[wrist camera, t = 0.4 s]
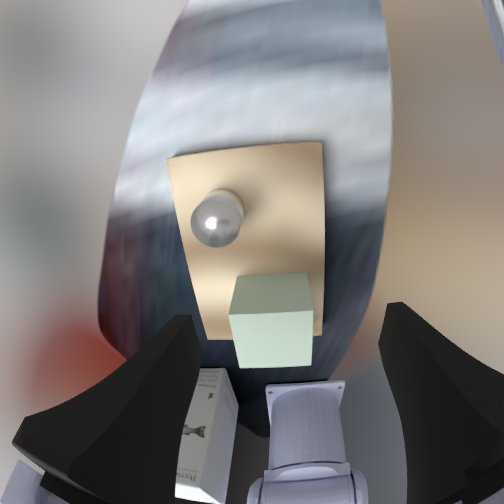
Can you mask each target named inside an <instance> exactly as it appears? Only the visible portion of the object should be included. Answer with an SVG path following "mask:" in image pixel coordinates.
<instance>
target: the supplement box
mask: <svg viewBox="0 0 504 504" xmlns="http://www.w3.org/2000/svg"><path fill="white" fill-rule="evenodd" d="M237 414H238V403H237V400H236V397H235V394H234V391H233V388H232V385H231V382H230V379H229V377H228V374H227V371H226V369H225V368H200V372H199V377H198V381H197V384H196V387H195V391H194V394H193V397H192V401H191V404H190V407H189V410H188V414H187V417H186V420H185V424H184V428H183V432H182V438H181V444H180V450H179V458H178V466H177V475H176V487H175V497H179V498H184V499H189V500H194V501H200V502H207V503H215V504H225V500H226V493H227V485H228V479H229V471H230V464H231V457H232V449H233V443H234V435H235V428H236V421H237Z"/></svg>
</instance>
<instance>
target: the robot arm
mask: <svg viewBox="0 0 504 504" xmlns="http://www.w3.org/2000/svg"><path fill="white" fill-rule="evenodd" d="M378 345H379V349H380V354H381V359H382V363H383V367H384V370H385V373H386V376H387V378H388V381H389V384H390V387H391V390H392V393H393V396H394V399H395V402H396V405H397V408H398V411H399V415H400V419H401V423H402V429H403V435H404V441H405V450H406V460H407V482H408V483H407V504H504V374H502V373H500V372H498V371H496V370H494V369H492V368H490V367H488V366H487V365H485V364H483V363H482V362H480V361H478V360H477V359H475V358H474V357H472V356H471V355H469V354H468V353H466V352H465V351H463V350H462V349H461V348H459V347H458V346H456V345H455V344H454V343H452V342H451V341H450V340H449V339H447V338H446V337H445V336H443V335H442V334H441V333H440V332H438V331H437V330H436V329H435V328H434V327H432V326H431V325H430V324H429V323H428V322H426V321H425V320H424V319H423V318H422V317H420V316H419V315H418V314H417V313H416V312H414V311H413V310H412V309H411V308H410V307H408V306H407V305H406V304H404V303H403V302H395V303H389V304H387V308H386V313H385V318H384V322H383V326H382V331H381V335H380V339H379V343H378ZM201 359H202V350H201V347H200V344H199V341H198V337H197V334H196V331H195V327H194V324H193V320H192V317H191V315H175V316H174V317H173V318H171V319H170V320H169V321H168V322H167V323H166V324H165V325H164V326H163V327H162V328H161V329H160V330H159V331H158V332H157V333H156V334H155V335H154V336H153V337H152V338H151V339H150V340H149V341H148V342H147V343H146V344H145V345H144V346H143V347H142V348H141V349H140V350H138V351H137V352H136V353H135V354H134V355H133V356H132V357H131V358H129V359H128V360H127V361H126V362H125V363H124V364H123V365H121V366H120V367H119V368H118V369H116V370H115V371H114V372H113V373H111V374H110V375H109V376H107V377H106V378H104V379H103V380H102V381H100V382H99V383H97V384H96V385H94V386H92V387H91V388H89V389H88V390H86V391H84V392H83V393H81V394H79V395H78V396H76V397H74V398H72V399H70V400H68V401H66V402H64V403H62V404H60V405H57V406H55V407H53V408H50V409H48V410H45V411H42V412H39V413H36V414H33V415H31V416H27V417H25V418H24V420H23V422H22V424H21V426H20V427H19V429H18V431H17V433H16V435H15V437H14V439H13V441H12V444H13V446H14V447H15V448H17V449H18V450H19V451H20V452H21V453H22V454H24V455H25V456H26V457H27V458H29V459H30V460H31V461H33V462H34V463H35V464H37V465H38V466H39V467H41V468H42V469H43V470H45V473H44V475H41V474H40V473H39V472H37V471H36V470H34V469H32V468H31V467H30V466H28V465H27V464H25V463H24V462H22V461H21V460H18V461H17V463H16V465H15V467H14V470H13V472H12V474H11V476H10V479H9V481H8V483H7V486H6V488H5V491H4V493H3V496H2V498H1V501H0V502H1V504H175V487H176V475H177V466H178V458H179V450H180V444H181V438H182V432H183V428H184V424H185V420H186V417H187V414H188V410H189V407H190V404H191V401H192V397H193V394H194V391H195V387H196V384H197V381H198V377H199V372H200V366H201ZM344 388H345V380H343V379H339V380H330V381H319V382H307V383H291V384H269V385H267V386H266V388H265V390H266V398H267V405H268V412H269V419H270V426H271V430H270V452H269V470H265V472H264V478H259V479H257V480H256V482H254V483H253V484H252V485H251V487H250V490H249V493H248V499H247V504H368V492H367V485H366V481H365V478H364V475H363V474H362V473H360V472H359V471H358V470H356V469H355V470H350V463H346V458H345V449H344V442H343V433H342V427H341V419H340V412H339V408H340V404H341V400H342V396H343V391H344Z"/></svg>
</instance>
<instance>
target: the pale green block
mask: <svg viewBox="0 0 504 504" xmlns="http://www.w3.org/2000/svg"><path fill="white" fill-rule="evenodd" d="M228 316H229V321H230V325H231V330H232V335H233V340H234V344H235V349H236V353H237V358H238V363H239V367H240V368H270V367H292V366H308V365H311V357H312V336H313V306H312V300H311V294H310V289H309V283H308V278H307V273H306V272H305V273H289V274H273V275H256V276H238V277H237V278H236V282H235V287H234V291H233V296H232V300H231V305H230V309H229V314H228Z"/></svg>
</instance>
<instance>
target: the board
mask: <svg viewBox="0 0 504 504" xmlns="http://www.w3.org/2000/svg"><path fill="white" fill-rule="evenodd" d="M166 160H167V166H168V172H169V178H170V183H171V188H172V194H173V199H174V204H175V209H176V214H177V219H178V223H179V228H180V233H181V237H182V242H183V246H184V250H185V255H186V259H187V263H188V267H189V272H190V276H191V280H192V284H193V288H194V291H195V295H196V299H197V303H198V307H199V310H200V314H201V318H202V321H203V325H204V328H205V332H206V335H207V339H217V340H222V339H233V335H232V330H231V325H230V321H229V316H228V314H229V309H230V305H231V300H232V296H233V291H234V287H235V282H236V278H237V277H238V276H256V275H273V274H289V273H305V272H306V273H307V278H308V283H309V289H310V294H311V300H312V306H313V336H318V335H322V320H323V300H324V268H325V208H324V177H323V157H322V143H321V142H319V141H310V142H290V143H276V144H263V145H253V146H243V147H234V148H226V149H218V150H211V151H204V152H197V153H191V154H185V155H179V156H173V157H171V158H168V159H166ZM218 188H227V189H230V190H233V191H235V192H236V193H237V194H238V195H239V196H240V197H241V198H242V200H243V202H244V206H245V214H244V217H243V221H242V224H241V227H240V231H239V234H238V236H237V238H236V239H235V240H234V241H233V242H232V243H231V244H229V245H227V246H225V247H220V248H214V247H209V246H206V245H204V244H203V243H201V242H200V241H199V240H198V239H197V238H196V237H195V236H194V234H193V232H192V229H191V224H190V220H191V216H192V213H193V211H194V210H195V208H196V207H197V206H198V205H199V204H200V202H201V201H202V200H203V199H204V198H205V197H206V195H207V194H208V193H210V192H211V191H213V190H215V189H218Z"/></svg>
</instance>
